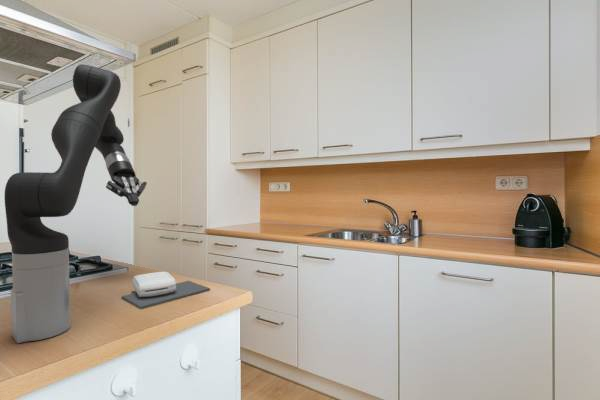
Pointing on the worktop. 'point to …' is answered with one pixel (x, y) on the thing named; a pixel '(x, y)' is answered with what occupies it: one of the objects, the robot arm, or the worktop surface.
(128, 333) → the worktop surface
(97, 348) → the worktop surface
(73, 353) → the worktop surface
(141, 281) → the photo printer
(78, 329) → the worktop surface
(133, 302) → the mat
